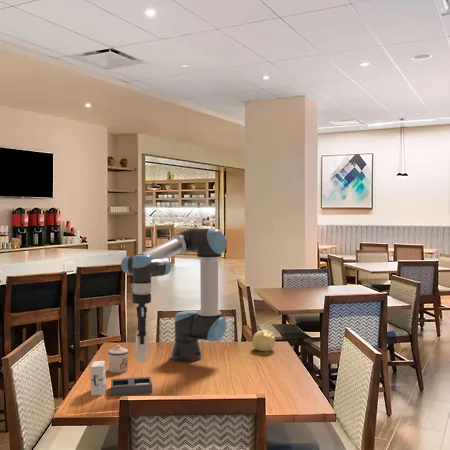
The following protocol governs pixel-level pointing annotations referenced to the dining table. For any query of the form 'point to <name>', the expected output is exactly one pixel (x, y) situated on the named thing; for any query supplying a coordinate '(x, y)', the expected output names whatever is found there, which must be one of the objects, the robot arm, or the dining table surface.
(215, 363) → the dining table surface
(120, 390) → the console
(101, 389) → the ink box
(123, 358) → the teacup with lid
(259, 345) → the pale yellow rounded lump
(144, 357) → the plug
